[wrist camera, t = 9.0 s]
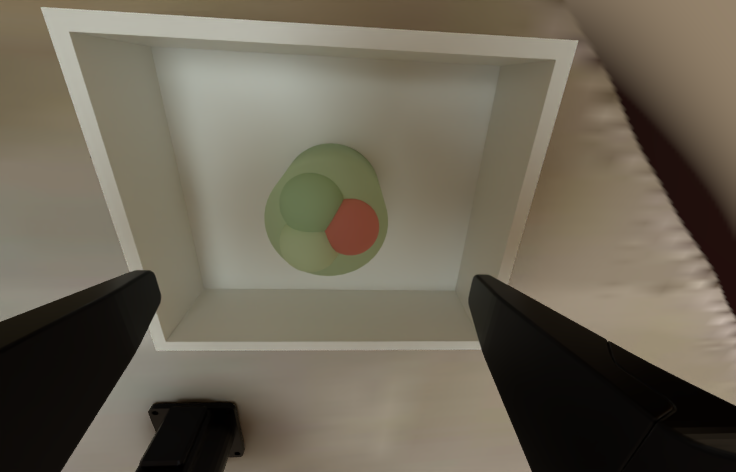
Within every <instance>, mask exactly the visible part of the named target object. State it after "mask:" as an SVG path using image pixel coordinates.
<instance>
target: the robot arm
mask: <svg viewBox="0 0 736 472" xmlns="http://www.w3.org/2000/svg"><path fill="white" fill-rule="evenodd" d="M160 303H161V292H160V289H159V286H158V282H157V279H156V276H155V274H154V272H152V271H151V270H134V271H131V272H129V273H126V274H124V275H121V276H118V277H116V278H113V279H111V280H108V281H105V282H103V283H100V284H98V285H95V286H92V287H90V288H87V289H85V290H82V291H79V292H77V293H74V294H72V295H69V296H66V297H64V298H61V299H59V300H56V301H53V302H51V303H48V304H46V305H43V306H40V307H38V308H35V309H33V310H30V311H27V312H25V313H22V314H20V315H17V316H14V317H12V318H9V319H7V320H4V321H1V322H0V472H61V470H62V469H63V467H64V466H65V464H66V463H67V461H68V459H69V458H70V456H71V455H72V453H73V451H74V450H75V448H76V447H77V445H78V444H79V442H80V440H81V439H82V437H83V436H84V434H85V432H86V431H87V429H88V428H89V426H90V425H91V423H92V421H93V420H94V418H95V417H96V415H97V413H98V412H99V410H100V409H101V407H102V406H103V404H104V402H105V401H106V399H107V398H108V396H109V394H110V393H111V391H112V390H113V388H114V387H115V385H116V383H117V382H118V380H119V379H120V377H121V375H122V374H123V372H124V371H125V369H126V368H127V366H128V364H129V363H130V361H131V360H132V358H133V356H134V355H135V353H136V351H137V349H138V347H139V345H140V344H141V342H142V339H143V337H144V335H145V333H146V331H147V329H148V327H149V325H150V323H151V321H152V319H153V317H154V315H155V313H156V311H157V309H158V307H159V305H160ZM468 304H469V308H470V312H471V315H472V319H473V322H474V326H475V329H476V333H477V336H478V340H479V343H480V346H481V349H482V352H483V355H484V358H485V360H486V362H487V365H488V367H489V370H490V372H491V374H492V377H493V379H494V382H495V384H496V386H497V389H498V391H499V394H500V396H501V399H502V401H503V403H504V406H505V408H506V411H507V413H508V415H509V418H510V420H511V423H512V425H513V427H514V430H515V432H516V435H517V437H518V439H519V442H520V444H521V447H522V449H523V451H524V454H525V456H526V459H527V461H528V463H529V466H530V468H531V471H532V472H736V406H735V405H733V404H731V403H729V402H727V401H725V400H723V399H721V398H719V397H717V396H715V395H713V394H711V393H709V392H706V391H704V390H702V389H700V388H698V387H696V386H694V385H692V384H690V383H688V382H686V381H684V380H682V379H680V378H678V377H676V376H674V375H672V374H670V373H668V372H666V371H664V370H663V369H661V368H659V367H657V366H655V365H653V364H651V363H649V362H647V361H645V360H643V359H641V358H640V357H638V356H636V355H634V354H632V353H630V352H628V351H626V350H625V349H623V348H621V347H619V346H617V345H616V344H614V343H612V342H610V341H608V342H607V340H606V339H605V338H603V337H601V336H599V335H597V334H596V333H594V332H592V331H590V330H588V329H587V328H585V327H583V326H581V325H579V324H578V323H576V322H574V321H572V320H570V319H568V318H567V317H565V316H563V315H561V314H559V313H558V312H556V311H554V310H552V309H550V308H549V307H547V306H545V305H543V304H541V303H540V302H538V301H536V300H534V299H532V298H530V297H529V296H527V295H525V294H523V293H521V292H520V291H518V290H516V289H514V288H512V287H511V286H509V285H507V284H505V283H503V282H502V281H500V280H498V279H496V278H494V277H492V276H491V275H487V274H476V275H475V276H474V277H473V279H472V284H471V288H470V292H469V297H468ZM148 413H149V416H150V419H151V421H152V424H153V426H154V429H155V431H156V434H155V436H154V437H153V439H152V441H151V443H150V445H149V446H148V448H147V450H146V452H145V454H144V455H143V457H142V459H141V461H140V463H139V466H138V468H137V470H136V471H135V472H224V469H225V466H226V463H227V460H228V457H241V456H243V454H244V450H245V448H244V443H243V438H242V433H241V428H240V424H239V419H238V414H237V409H236V406H235V405H234V404H232V403H193V404H154V405H152V406H151V408H150V409H149V411H148Z"/></svg>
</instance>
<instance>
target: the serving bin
mask: <svg viewBox="0 0 736 472" xmlns="http://www.w3.org/2000/svg"><path fill="white" fill-rule="evenodd" d="M41 9H42V12H43V15H44V18H45V21H46V24H47V27H48V30H49V33H50V36H51V39H52V42H53V45H54V48H55V51H56V54H57V57H58V60H59V63H60V66H61V69H62V72H63V75H64V78H65V81H66V84H67V87H68V90H69V93H70V96H71V99H72V102H73V105H74V108H75V111H76V114H77V117H78V120H79V123H80V126H81V129H82V132H83V135H84V137H85V140H86V143H87V146H88V149H89V152H90V155H91V158H92V161H93V164H94V167H95V170H96V173H97V176H98V179H99V182H100V185H101V188H102V191H103V194H104V197H105V200H106V203H107V206H108V209H109V212H110V215H111V218H112V221H113V224H114V227H115V230H116V233H117V236H118V239H119V242H120V245H121V248H122V251H123V254H124V257H125V260H126V263H127V266H128V269H129V272H131V271H134V270H151V271H152V272H154V274H155V276H156V279H157V282H158V286H159V289H160V292H161V303H160V305H159V307H158V309H157V311H156V313H155V315H154V317H153V319H152V321H151V323H150V325H149V327H148V328H149V331H150V334H151V337H152V340H153V343H154V346H155V349H156V351H272V350H482V349H481V346H480V343H479V340H478V336H477V333H476V329H475V326H474V322H473V319H472V315H471V312H470V308H469V304H468V297H469V292H470V288H471V284H472V279H473V277H474V276H475V275H476V274H487V275H491V276H492V277H494V278H496V279H498V280H500V281H502V282H503V283H505V284H507V285H508V283H509V280H510V276H511V273H512V269H513V266H514V262H515V259H516V255H517V252H518V248H519V245H520V242H521V238H522V235H523V231H524V228H525V224H526V221H527V217H528V214H529V210H530V207H531V203H532V200H533V196H534V193H535V190H536V186H537V183H538V179H539V176H540V172H541V169H542V165H543V162H544V158H545V155H546V151H547V148H548V144H549V141H550V138H551V134H552V131H553V127H554V124H555V120H556V117H557V113H558V110H559V106H560V103H561V99H562V96H563V92H564V89H565V86H566V82H567V79H568V75H569V72H570V68H571V65H572V61H573V58H574V54H575V51H576V47H577V44H578V40H562V39H546V38H530V37H514V36H498V35H482V34H466V33H450V32H434V31H417V30H401V29H385V28H369V27H353V26H337V25H321V24H305V23H289V22H273V21H257V20H241V19H225V18H208V17H192V16H176V15H160V14H144V13H128V12H112V11H96V10H80V9H64V8H48V7H41ZM328 143H333V144H341V145H345V146H348V147H350V148H352V149H354V150H356V151H358V152H359V153H360V154H362V155H363V156H364V157H365V158H366V159H367V160H368V161H369V162H370V164H371V165H372V167H373V168H374V170H375V172H376V175H377V178H378V181H379V185H380V188H381V191H382V195H383V198H384V202H385V205H386V209H387V214H388V229H387V234H386V237H385V240H384V243H383V245H382V247H381V248H380V250H379V251H378V253H377V254H376V255H375V256H374V258H372V259H371V260H370V261H369V262H368V263H367V264H365V265H364V266H362V267H361V268H359V269H357V270H355V271H352V272H350V273H346V274H343V275H336V276H320V275H314V274H310V273H307V272H303V271H300V270H297V269H295V268H294V267H292V266H291V265H290V264H289V263H288V262H286V261H285V260H284V259H283V258H282V257H281V256H280V255H279V254H278V253H277V251H276V250H275V249H274V247H273V246H272V244H271V242H270V240H269V238H268V235H267V232H266V228H265V220H264V214H265V207H266V203H267V200H268V198H269V195H270V193H271V192H272V190H273V188H274V187H275V185H276V184H277V183H278V181H279V180H280V179H281V177H282V176H283V174H284V173H285V172H286V170H287V169H288V168H289V166H290V165H291V163H292V162H293V161H294V160H295V158H296V157H297V156H299V155H300V154H301V153H302V152H304V151H305V150H307V149H309V148H311V147H313V146H316V145H320V144H328Z"/></svg>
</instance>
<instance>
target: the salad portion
mask: <svg viewBox="0 0 736 472" xmlns="http://www.w3.org/2000/svg"><path fill="white" fill-rule="evenodd" d="M264 220H265V228H266V232H267V235H268V238H269V240H270V242H271V244H272V246H273V247H274V249H275V250H276V251H277V253H278V254H279V255H280V256H281V257H282V258H283V259H284V260H285V261H286V262H288V263H289V264H290V265H291V266H292V267H294V268H295V269H297V270H300V271H303V272H307V273H310V274H314V275H320V276H336V275H343V274H346V273H350V272H352V271H355V270H357V269H359V268H361V267H362V266H364V265H365V264H367V263H368V262H369V261H370V260H371V259H372V258H374V256H375V255H376V254H377V253H378V251H379V250H380V248H381V247H382V245H383V243H384V240H385V237H386V234H387V229H388V214H387V209H386V205H385V202H384V198H383V195H382V191H381V188H380V185H379V181H378V178H377V175H376V172H375V170H374V168H373V167H372V165H371V164H370V162H369V161H368V160H367V159H366V158H365V157H364V156H363V155H362V154H360V153H359V152H358V151H356V150H354V149H352V148H350V147H348V146H345V145H341V144H333V143H328V144H320V145H316V146H313V147H311V148H309V149H307V150H305V151H304V152H302V153H301V154H300V155H299V156H297V157H296V158H295V160H294V161H293V162H292V163H291V165H290V166H289V168H288V169H287V170H286V172H285V173H284V174H283V176H282V177H281V179H280V180H279V181H278V183H277V184H276V185H275V187H274V188H273V190H272V192H271V193H270V195H269V198H268V200H267V203H266V207H265V214H264Z"/></svg>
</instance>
